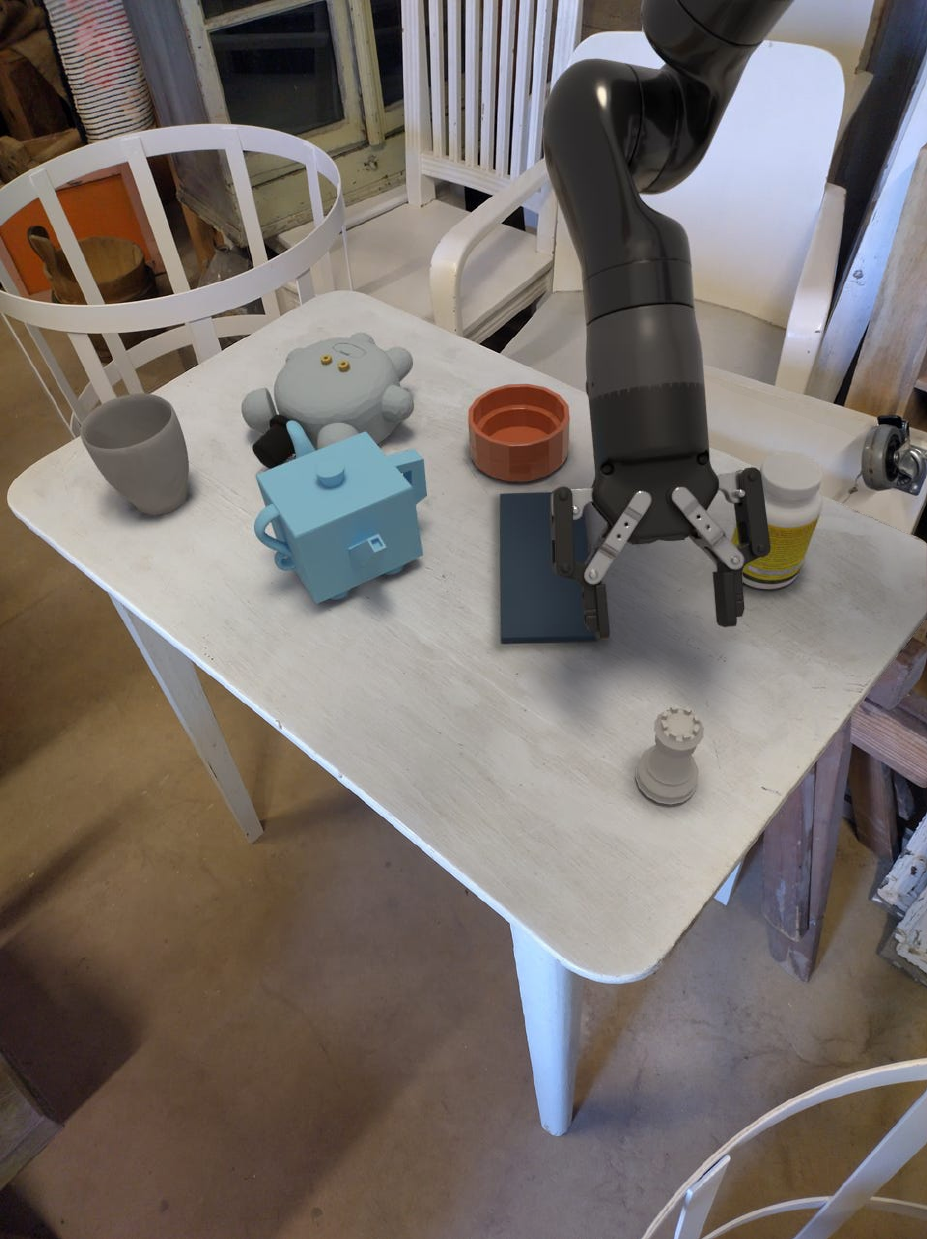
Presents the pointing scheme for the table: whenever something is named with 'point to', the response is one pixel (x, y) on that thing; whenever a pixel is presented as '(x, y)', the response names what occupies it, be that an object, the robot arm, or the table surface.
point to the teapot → (342, 512)
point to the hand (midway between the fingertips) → (665, 631)
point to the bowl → (519, 432)
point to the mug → (140, 451)
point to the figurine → (331, 396)
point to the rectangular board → (537, 575)
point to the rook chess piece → (671, 757)
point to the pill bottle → (786, 518)
